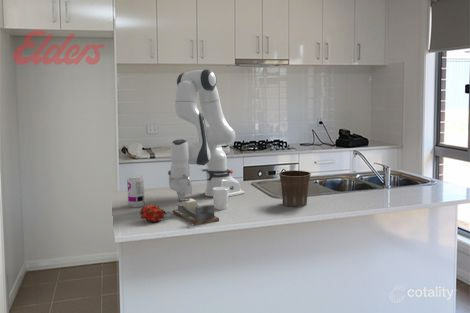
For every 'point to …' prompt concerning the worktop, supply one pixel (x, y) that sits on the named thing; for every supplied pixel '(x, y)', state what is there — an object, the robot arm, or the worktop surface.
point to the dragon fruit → (152, 213)
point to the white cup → (220, 197)
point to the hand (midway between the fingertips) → (181, 201)
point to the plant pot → (294, 187)
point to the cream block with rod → (189, 204)
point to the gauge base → (197, 214)
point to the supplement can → (136, 191)
